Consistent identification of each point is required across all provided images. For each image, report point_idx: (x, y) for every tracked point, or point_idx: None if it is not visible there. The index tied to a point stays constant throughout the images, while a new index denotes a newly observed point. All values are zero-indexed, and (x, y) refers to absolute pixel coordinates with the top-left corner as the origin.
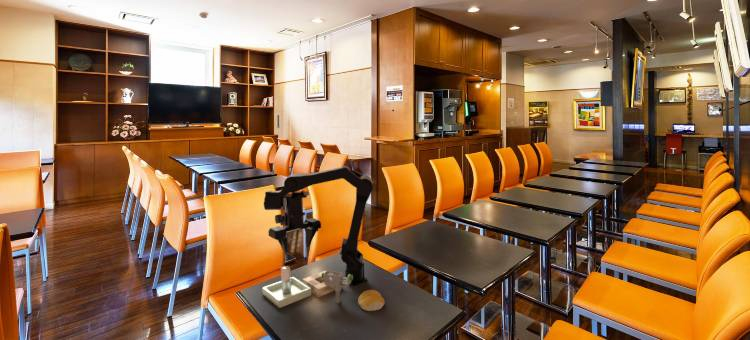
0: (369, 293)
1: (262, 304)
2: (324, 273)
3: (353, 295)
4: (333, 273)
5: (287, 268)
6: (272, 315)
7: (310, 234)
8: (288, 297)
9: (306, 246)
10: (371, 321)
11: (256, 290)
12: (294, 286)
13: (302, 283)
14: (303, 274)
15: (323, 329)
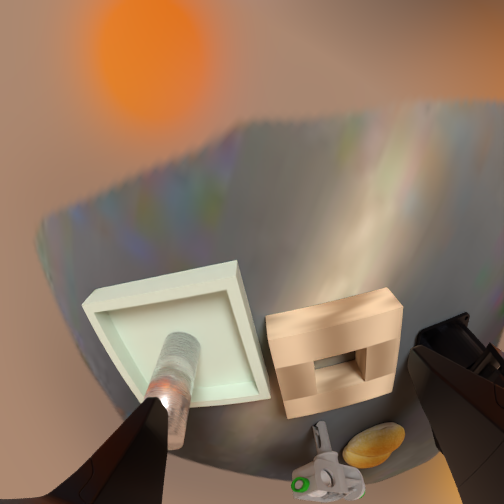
0: (379, 455)
1: (100, 349)
2: (301, 496)
3: (371, 410)
4: (331, 488)
5: (168, 445)
6: (132, 404)
7: (466, 492)
8: None
9: (412, 351)
10: None
11: (73, 243)
12: (224, 318)
13: (254, 359)
14: (319, 191)
15: (236, 467)
